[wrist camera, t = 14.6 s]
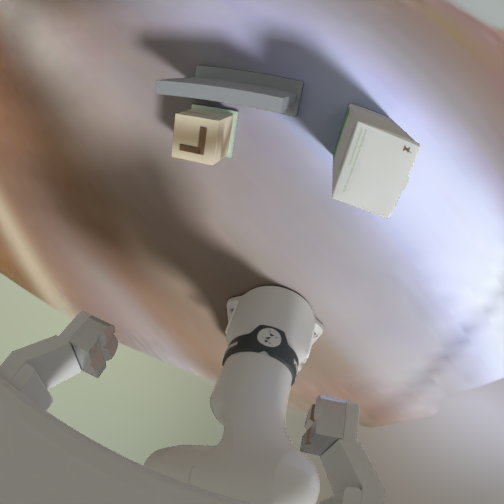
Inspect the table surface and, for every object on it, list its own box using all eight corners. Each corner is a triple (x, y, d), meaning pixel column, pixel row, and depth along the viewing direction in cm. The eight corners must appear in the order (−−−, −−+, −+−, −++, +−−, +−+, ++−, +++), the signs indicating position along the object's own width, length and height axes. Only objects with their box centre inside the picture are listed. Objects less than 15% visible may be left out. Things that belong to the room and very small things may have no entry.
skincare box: (349, 102, 37) (356, 114, 24) (395, 119, 36) (424, 143, 24) (331, 157, 42) (327, 198, 29) (375, 174, 41) (391, 222, 28)
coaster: (231, 156, 45) (230, 157, 45) (188, 147, 46) (186, 148, 46) (238, 111, 41) (237, 111, 41) (193, 103, 42) (191, 104, 42)
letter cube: (227, 154, 45) (212, 166, 39) (190, 146, 45) (170, 157, 40) (233, 114, 41) (218, 121, 36) (194, 108, 42) (174, 113, 37)
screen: (296, 116, 40) (281, 130, 30) (194, 97, 42) (150, 107, 32) (303, 81, 37) (291, 83, 27) (198, 65, 39) (155, 65, 29)
